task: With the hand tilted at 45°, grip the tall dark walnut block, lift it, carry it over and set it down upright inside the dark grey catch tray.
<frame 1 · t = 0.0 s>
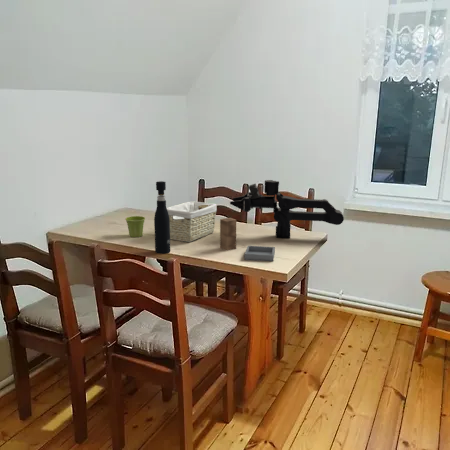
hand: (231, 200, 217), 17 cm above the table, tool horizontal, fingers open, 9 cm apart
walnut block: (228, 248, 199), on the table
plant pot: (136, 236, 218), on the table
catch tray: (260, 256, 188), on the table
black bottle: (162, 252, 193), on the table
storage basket: (191, 236, 218), on the table
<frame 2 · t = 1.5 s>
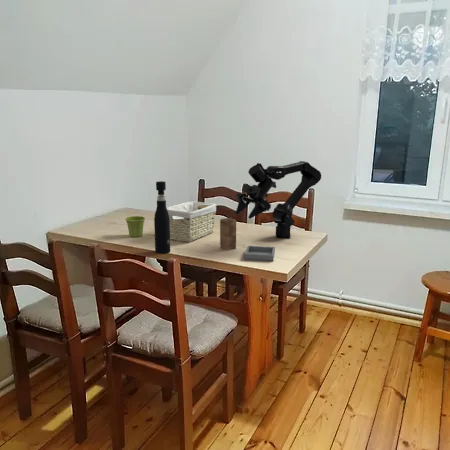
hand: (242, 216, 200), 13 cm above the table, tool tilted 45°, fingers open, 9 cm apart
nothing on the table moved.
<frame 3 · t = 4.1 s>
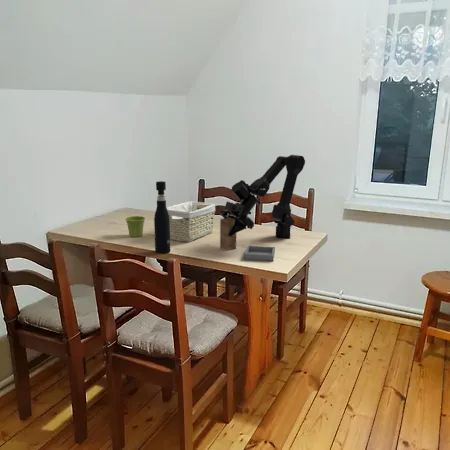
hand: (225, 234, 196), 7 cm above the table, tool tilted 45°, fingers closed on walnut block, 5 cm apart
walnut block: (228, 248, 199), on the table, touching gripper
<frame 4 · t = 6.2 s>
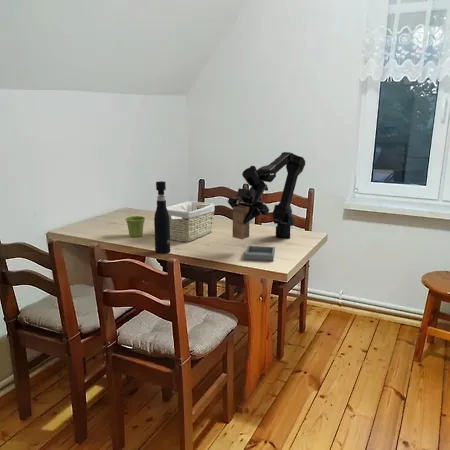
hand: (239, 222, 189), 13 cm above the table, tool tilted 45°, fingers closed on walnut block, 5 cm apart
walnut block: (240, 237, 191), point 7 cm above the table, touching gripper
when the fingers open (8 cm above the table, at t = 8.4 s): walnut block drops 1 cm, resting on catch tray.
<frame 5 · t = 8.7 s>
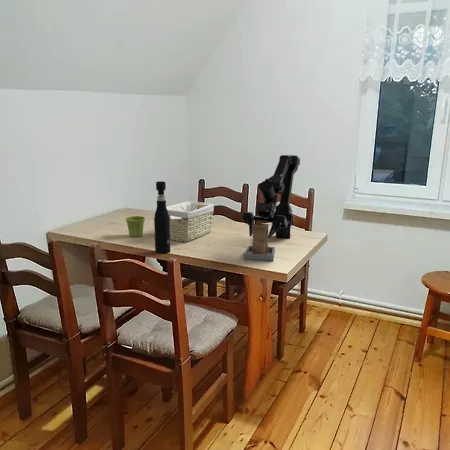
hand: (259, 237, 185), 9 cm above the table, tool tilted 45°, fingers open, 8 cm apart
walnut block: (260, 254, 188), resting on catch tray
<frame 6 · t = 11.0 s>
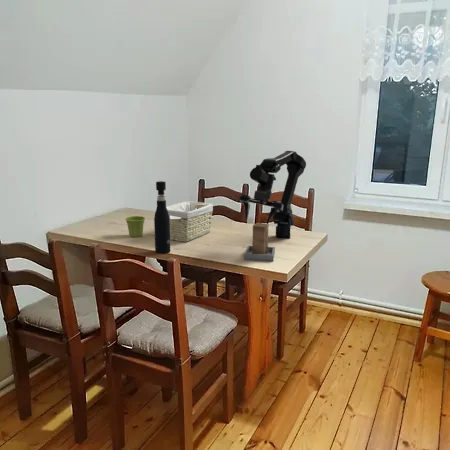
hand: (256, 221, 195), 12 cm above the table, tool tilted 25°, fingers open, 9 cm apart
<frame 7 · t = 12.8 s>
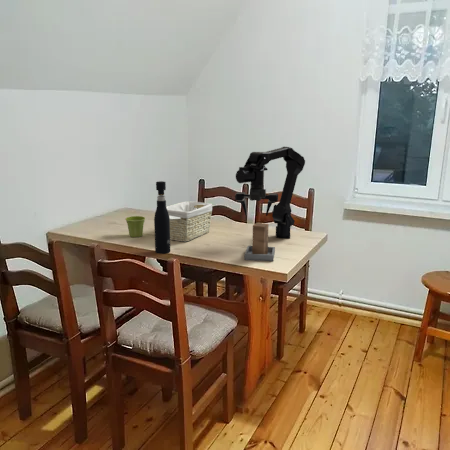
hand: (256, 215, 202), 13 cm above the table, tool pointing down, fingers open, 9 cm apart
at the end: walnut block inside the target area on the catch tray (0.0 cm from its centre), point 0.5 cm above the catch tray's base; walnut block tilted 0°; the gripper is holding nothing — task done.
